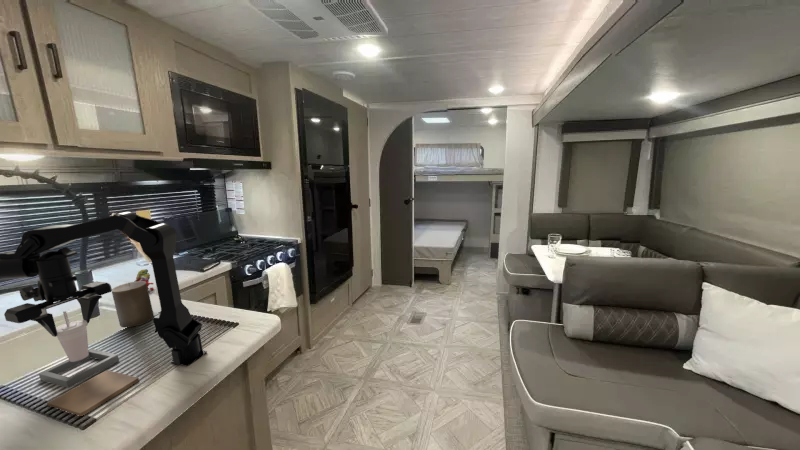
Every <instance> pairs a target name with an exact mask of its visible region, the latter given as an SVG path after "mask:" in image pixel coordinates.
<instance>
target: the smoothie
mask: <svg viewBox="0 0 800 450" xmlns="http://www.w3.org/2000/svg"><path fill="white" fill-rule="evenodd" d="M62 313H63V316H64V320H65V321H64V322H65V323H63V324H60V325H58V326H56V330H57V336H56V338H57V340H58V341H59V344H60V345H61V347H62V349H63V351H64V353H65V355H66V357H67V360H69V361H70V362H75V361H79V360H82V359H84V358H86V357H87V356H88V355H89V351H88V350H89V342H88V341H89V340H88V328H87V327H88V324H89V323H87V321H86V320H83V319H79V320H78V319H77V320H73V321H70V320H69V316H68V314H67V311H66V310H65V311H63V312H62Z"/></svg>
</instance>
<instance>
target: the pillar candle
mask: <svg viewBox="0 0 800 450" xmlns="http://www.w3.org/2000/svg"><path fill="white" fill-rule="evenodd" d="M111 294H112V298H113V302H114V307H115V311H116V315H117V319H118V322H119V326H120V327H121V328H133V327H136V326H139V325H140V326H141V325H143V324H146V323H147V322H149V321H152V320H153V318H155V316H154V310H153V306H152V301H151V297H150V294H149V287H148V288H147V283H146V282H145V281H136V282H134V281H131V282H126V283H122V284H119V285H117V286H115V287H113V288H112V291H111Z"/></svg>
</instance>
